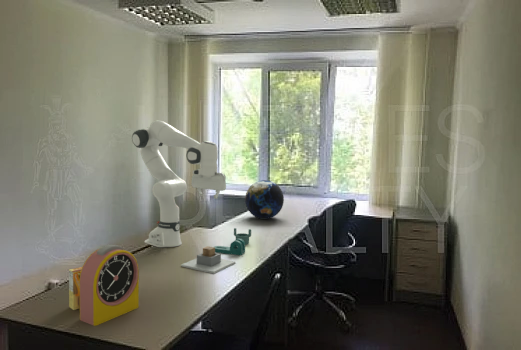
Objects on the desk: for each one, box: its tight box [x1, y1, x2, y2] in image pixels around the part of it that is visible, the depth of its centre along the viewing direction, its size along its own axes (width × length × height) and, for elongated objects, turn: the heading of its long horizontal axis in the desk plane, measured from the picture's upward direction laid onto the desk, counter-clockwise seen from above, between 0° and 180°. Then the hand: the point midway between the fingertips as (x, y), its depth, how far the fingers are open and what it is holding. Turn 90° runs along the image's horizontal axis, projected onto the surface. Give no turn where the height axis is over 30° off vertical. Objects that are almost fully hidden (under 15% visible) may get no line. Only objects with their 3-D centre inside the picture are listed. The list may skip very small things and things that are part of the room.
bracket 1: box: [213, 238, 246, 256], centre depth 263 cm, size 18×7×8 cm, turn 73°
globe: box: [244, 179, 285, 220], centre depth 356 cm, size 30×30×30 cm
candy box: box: [68, 266, 83, 311], centre depth 180 cm, size 9×4×15 cm, turn 137°
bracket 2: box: [233, 227, 252, 246], centre depth 283 cm, size 9×9×9 cm
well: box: [180, 252, 236, 275], centre depth 238 cm, size 20×20×6 cm
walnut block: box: [202, 245, 216, 257], centre depth 238 cm, size 4×4×8 cm
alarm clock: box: [79, 244, 140, 327], centre depth 174 cm, size 21×9×26 cm, turn 148°
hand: (208, 197), depth 247 cm, fingers open, 8 cm apart
